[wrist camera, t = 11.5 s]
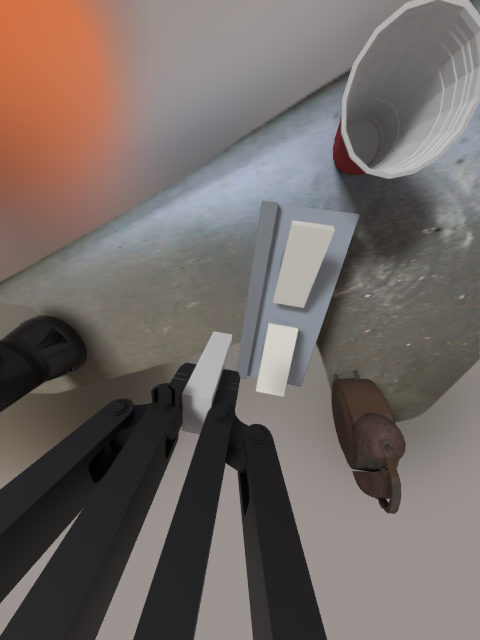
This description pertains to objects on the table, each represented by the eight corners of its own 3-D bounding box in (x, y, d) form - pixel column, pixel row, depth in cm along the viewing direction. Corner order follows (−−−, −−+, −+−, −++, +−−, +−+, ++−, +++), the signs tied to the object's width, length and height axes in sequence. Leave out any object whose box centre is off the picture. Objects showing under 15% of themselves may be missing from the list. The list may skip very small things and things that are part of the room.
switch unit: (240, 355, 43) (235, 377, 37) (264, 205, 31) (262, 200, 25) (298, 366, 42) (303, 390, 36) (346, 216, 30) (365, 214, 24)
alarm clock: (363, 412, 45) (423, 537, 27) (328, 412, 46) (363, 531, 28) (367, 357, 39) (447, 468, 21) (327, 360, 41) (370, 466, 23)
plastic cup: (388, 195, 28) (459, 177, 18) (308, 196, 30) (328, 178, 19) (418, 88, 24) (538, -26, 13) (322, 94, 25) (359, -5, 14)
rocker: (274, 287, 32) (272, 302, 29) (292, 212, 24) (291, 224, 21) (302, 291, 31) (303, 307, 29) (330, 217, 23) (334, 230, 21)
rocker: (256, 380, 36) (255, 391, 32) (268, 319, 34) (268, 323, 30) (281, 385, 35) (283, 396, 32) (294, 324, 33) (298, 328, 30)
